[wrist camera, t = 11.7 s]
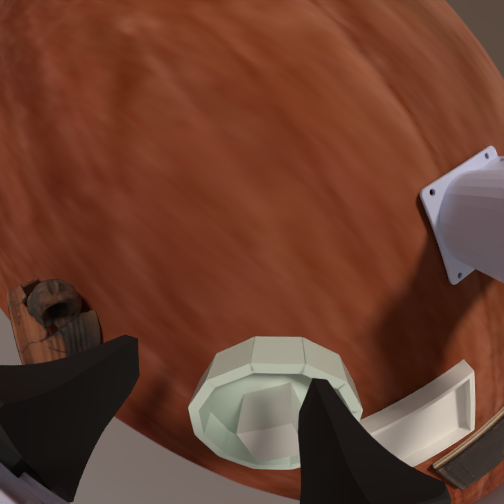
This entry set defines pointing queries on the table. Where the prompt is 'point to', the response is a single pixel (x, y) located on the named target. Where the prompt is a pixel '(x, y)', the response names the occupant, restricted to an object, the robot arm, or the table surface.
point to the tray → (427, 417)
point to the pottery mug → (50, 321)
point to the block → (270, 422)
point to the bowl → (258, 378)
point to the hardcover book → (474, 454)
